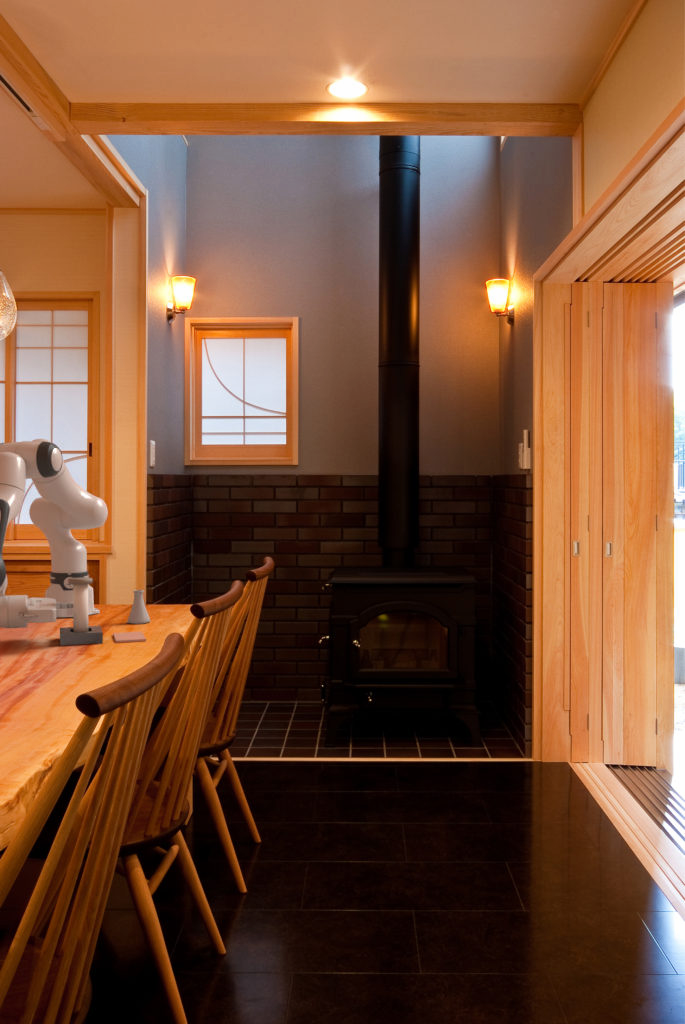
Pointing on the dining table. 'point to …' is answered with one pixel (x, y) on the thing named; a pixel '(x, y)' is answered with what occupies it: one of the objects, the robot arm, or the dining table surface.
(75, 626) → the peg
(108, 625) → the dining table surface
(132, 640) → the pad
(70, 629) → the eye block
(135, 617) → the flask
